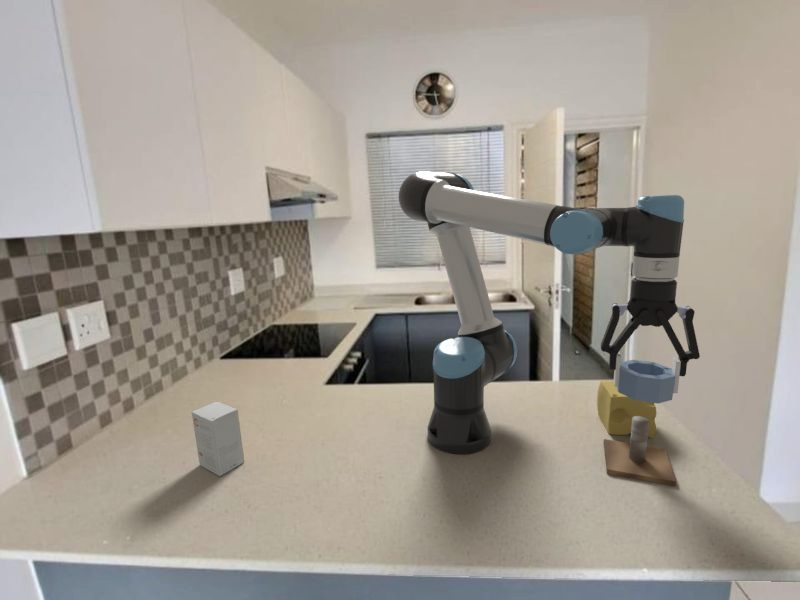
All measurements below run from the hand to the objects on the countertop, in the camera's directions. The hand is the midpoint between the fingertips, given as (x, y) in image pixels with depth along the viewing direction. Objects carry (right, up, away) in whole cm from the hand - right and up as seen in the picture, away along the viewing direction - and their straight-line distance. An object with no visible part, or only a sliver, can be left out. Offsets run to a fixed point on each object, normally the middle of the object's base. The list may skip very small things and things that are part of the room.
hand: (644, 387), depth 85 cm
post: (+1, -17, +4) cm, 17 cm away
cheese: (+6, -14, +19) cm, 24 cm away
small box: (-89, -19, +9) cm, 92 cm away
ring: (0, -1, 0) cm, 1 cm away
